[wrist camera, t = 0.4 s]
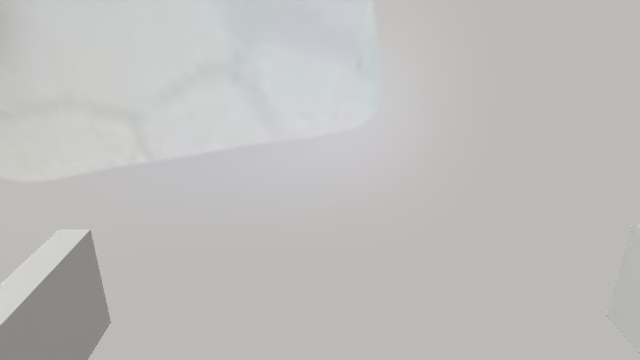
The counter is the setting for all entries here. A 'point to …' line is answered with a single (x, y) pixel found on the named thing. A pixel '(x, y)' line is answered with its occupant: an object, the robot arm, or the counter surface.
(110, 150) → the counter surface
